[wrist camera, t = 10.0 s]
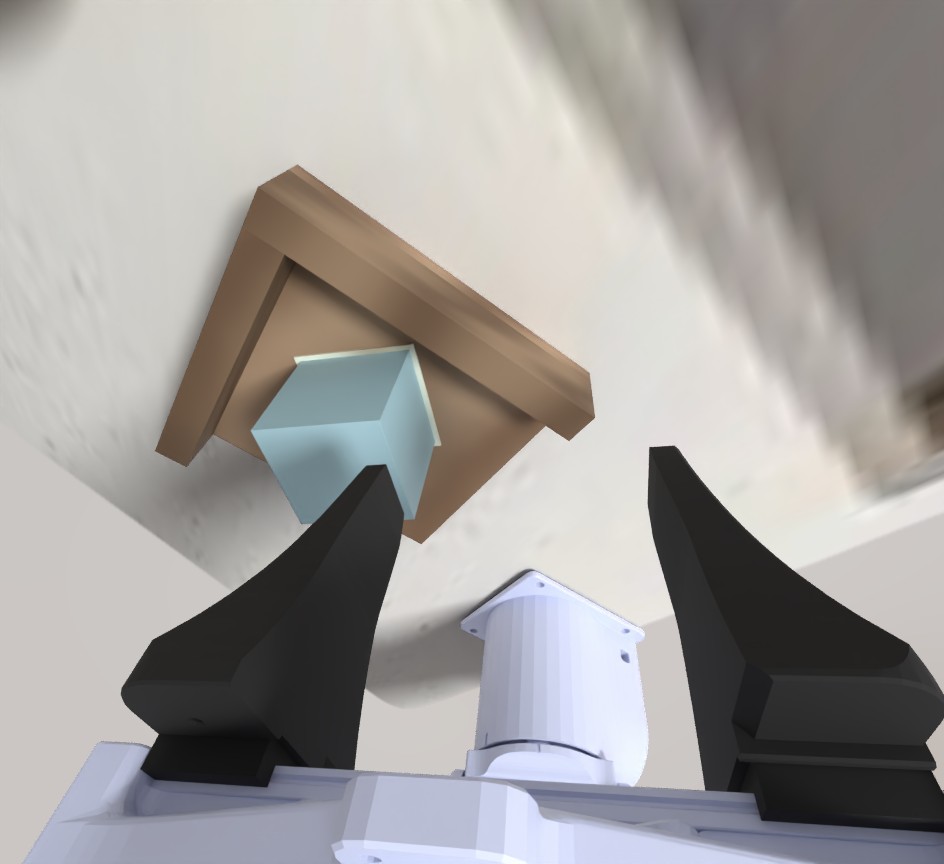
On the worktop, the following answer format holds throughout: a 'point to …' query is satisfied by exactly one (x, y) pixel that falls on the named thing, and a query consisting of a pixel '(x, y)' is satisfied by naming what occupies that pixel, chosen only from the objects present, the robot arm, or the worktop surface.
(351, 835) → the robot arm
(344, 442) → the cube
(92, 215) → the worktop surface
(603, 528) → the worktop surface
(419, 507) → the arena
